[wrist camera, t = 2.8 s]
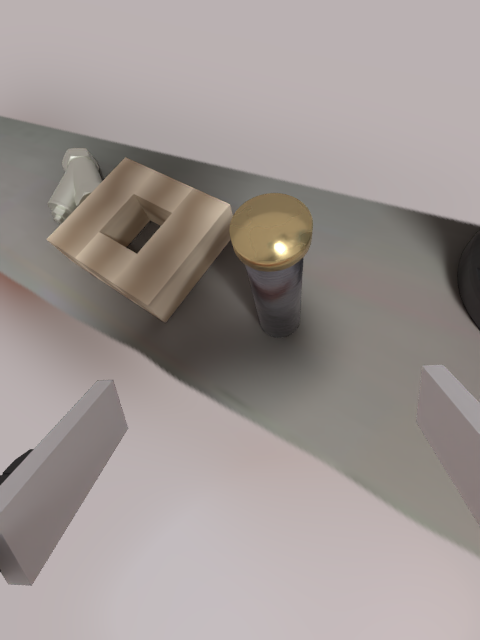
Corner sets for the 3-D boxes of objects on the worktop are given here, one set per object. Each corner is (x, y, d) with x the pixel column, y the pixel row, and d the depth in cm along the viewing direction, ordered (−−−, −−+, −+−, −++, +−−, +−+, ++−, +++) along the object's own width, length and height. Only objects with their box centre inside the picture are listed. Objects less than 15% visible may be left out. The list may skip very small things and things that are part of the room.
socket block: (236, 231, 33) (229, 204, 29) (165, 323, 30) (147, 305, 27) (141, 185, 38) (125, 157, 34) (72, 261, 35) (46, 239, 31)
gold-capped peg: (313, 311, 28) (328, 211, 17) (287, 351, 27) (283, 275, 16) (272, 289, 30) (258, 182, 18) (246, 326, 29) (213, 239, 17)
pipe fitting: (69, 237, 37) (119, 209, 37) (43, 216, 34) (98, 184, 33) (55, 193, 40) (101, 167, 40) (30, 170, 37) (80, 141, 37)
